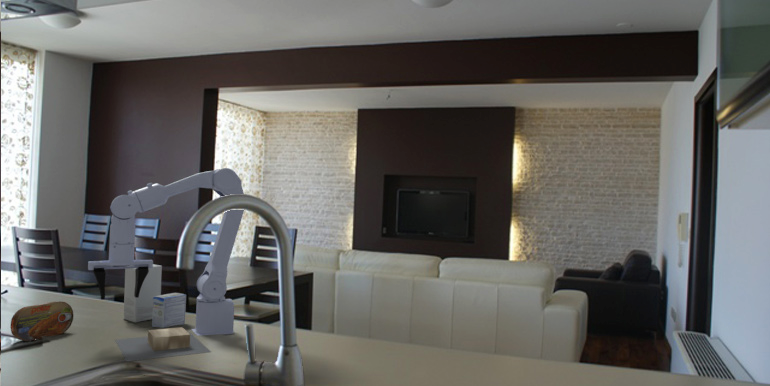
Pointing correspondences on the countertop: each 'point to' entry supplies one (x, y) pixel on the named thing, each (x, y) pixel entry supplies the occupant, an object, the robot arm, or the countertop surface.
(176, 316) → the medicine box
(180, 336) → the tan flat block
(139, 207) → the robot arm
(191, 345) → the mat
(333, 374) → the countertop surface
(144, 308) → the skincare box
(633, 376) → the countertop surface
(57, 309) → the tin
